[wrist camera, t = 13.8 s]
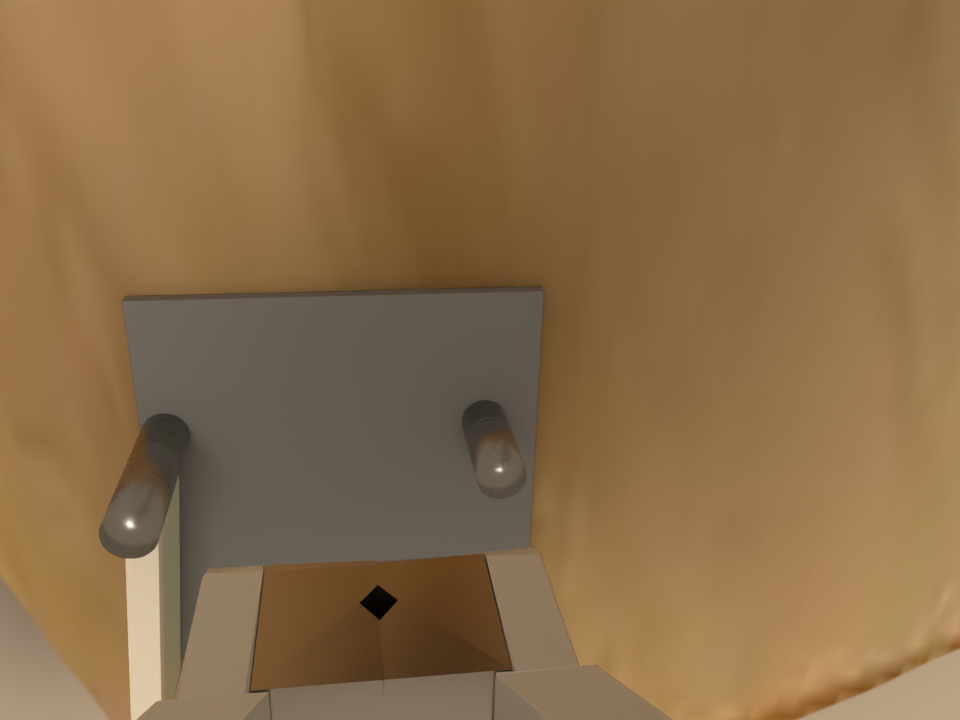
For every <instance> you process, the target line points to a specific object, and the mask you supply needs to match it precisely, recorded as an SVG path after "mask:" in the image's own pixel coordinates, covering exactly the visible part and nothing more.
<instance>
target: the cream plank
mask: <svg viewBox="0 0 960 720" xmlns="http://www.w3.org/2000/svg"><path fill="white" fill-rule="evenodd" d="M125 560H126V588H127V616H128V645H129V673H130V701H131V720H137V719H138V718H139V717H140V716H141V715H142V714H143V713H144V712H145V711H146V710H148V709H149V708H150V707H151V706H152V705H153V704H154V703H155V702H157V701H163V700H173V699H174V695H175V691H176V686H177V682H178V677H179V673H180V668H181V646H180V513H179V476H178V480H177V483H176V486H175V489H174V493H173V496H172V499H171V502H170V506H169V509H168V512H167V515H166V519H165V522H164V525H163V528H162V532H161V535H160V538H159V542H158V544H157V546H156V547H155V549H154V550H153V551H152V552H151V553H149V554H148V555H146V556H143V557H140V558H135V559H126V558H125Z"/></svg>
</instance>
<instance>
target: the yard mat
mask: <svg viewBox="0 0 960 720" xmlns="http://www.w3.org/2000/svg"><path fill="white" fill-rule="evenodd" d="M543 300H544V290H543V289H542V287H501V288H458V289H415V290H372V291H329V292H286V293H243V294H200V295H157V296H125V298H124V299H123V301H122V304H123V311H124V318H125V325H126V332H127V340H128V347H129V354H130V361H131V368H132V375H133V382H134V389H135V396H136V404H137V411H138V418H139V425H140V430H141V428H142V426H143V424H144V422H145V421H146V420H147V419H148V418H150V417H151V416H153V415H156V414H161V413H167V414H172V415H175V416H177V417H179V418H181V419H182V420H183V421H184V422H185V423H186V424H187V426H188V428H189V430H190V440H189V444H188V447H187V450H186V453H185V457H184V460H183V463H182V466H181V470H180V473H179V513H180V646H181V658H185V653H186V649H187V644H188V640H189V635H190V631H191V626H192V622H193V617H194V613H195V608H196V604H197V599H198V595H199V590H200V586H201V581H202V578H203V576H204V575H205V573H206V572H207V571H208V569H209V568H224V567H241V566H257V565H262V566H264V567H266V566H267V565H277V564H301V563H325V562H348V561H372V560H376V561H390V560H403V559H417V558H430V557H444V556H458V555H471V554H482V552H489V551H500V550H510V549H521V548H529V547H530V529H531V511H532V494H533V476H534V458H535V441H536V423H537V406H538V388H539V370H540V353H541V335H542V317H543ZM481 400H489V401H493V402H496V403H497V404H499V405H500V406H501V407H502V408H503V410H504V412H505V414H506V417H507V420H508V422H509V425H510V428H511V430H512V433H513V436H514V439H515V441H516V444H517V447H518V449H519V452H520V455H521V457H522V460H523V463H524V466H525V468H526V472H527V479H526V482H525V485H524V486H523V488H522V489H521V490H520V491H519V492H518V493H517V494H515V495H514V496H512V497H509V498H505V499H494V498H490V497H488V496H486V495H485V494H483V493H482V492H481V490H480V489H479V487H478V484H477V480H476V477H475V473H474V469H473V465H472V462H471V458H470V454H469V451H468V447H467V443H466V439H465V436H464V432H463V428H462V423H461V420H462V416H463V413H464V411H465V410H466V409H467V408H468V407H469V406H470V405H471V404H473V403H475V402H477V401H481Z"/></svg>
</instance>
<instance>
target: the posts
mask: <svg viewBox="0 0 960 720" xmlns="http://www.w3.org/2000/svg"><path fill="white" fill-rule="evenodd" d="M461 423H462V428H463V432H464V436H465V439H466V443H467V447H468V451H469V454H470V458H471V462H472V465H473V469H474V473H475V477H476V480H477V484H478V487H479V489H480V490H481V492H482V493H483V494H485V495H486V496H488V497H490V498H494V499H505V498H509V497H512V496H514V495H515V494H517V493H518V492H519V491H520V490H521V489H522V488H523V486H524V485H525V482H526V479H527V472H526V468H525V466H524V463H523V460H522V457H521V455H520V452H519V449H518V447H517V444H516V441H515V439H514V436H513V433H512V430H511V428H510V425H509V422H508V420H507V417H506V414H505V412H504V410H503V408H502V407H501V406H500V405H499V404H497V403H496V402H493V401H489V400H481V401H477V402H475V403H473V404H471V405H470V406H469V407H468V408H467V409H466V410H465V411H464V413H463V416H462V420H461ZM189 440H190V430H189V428H188V426H187V424H186V423H185V422H184V421H183V420H182V419H181V418H179V417H177V416H175V415H172V414H167V413H161V414H156V415H153V416H151V417H150V418H148V419H147V420H146V421H145V422H144V424H143V426H142V428H141V430H140V433H139V435H138V438H137V440H136V442H135V445H134V447H133V450H132V452H131V454H130V457H129V459H128V462H127V464H126V466H125V469H124V471H123V474H122V476H121V478H120V481H119V483H118V486H117V488H116V490H115V493H114V495H113V498H112V500H111V502H110V505H109V507H108V510H107V512H106V514H105V517H104V519H103V522H102V524H101V526H100V530H99V537H100V541H101V543H102V545H103V546H104V547H105V549H106V550H108V551H109V552H110V553H112V554H113V555H115V556H118V557H121V558H126V559H135V558H140V557H143V556H146V555H148V554H149V553H151V552H152V551H153V550H154V549H155V547H156V546H157V544H158V542H159V538H160V535H161V532H162V528H163V525H164V522H165V519H166V515H167V512H168V509H169V506H170V502H171V499H172V496H173V493H174V489H175V486H176V483H177V480H178V476H179V473H180V470H181V466H182V463H183V460H184V457H185V453H186V450H187V447H188V444H189Z"/></svg>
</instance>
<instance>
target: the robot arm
mask: <svg viewBox="0 0 960 720" xmlns="http://www.w3.org/2000/svg"><path fill="white" fill-rule="evenodd" d="M137 720H673V719H671V718H670V717H668V716H667V715H666V714H664V713H663V712H661V711H660V710H659V709H657V708H656V707H654V706H653V705H652V704H650V703H649V702H647V701H646V700H645V699H643V698H642V697H640V696H639V695H638V694H636V693H635V692H633V691H632V690H631V689H629V688H628V687H626V686H625V685H624V684H622V683H621V682H619V681H618V680H617V679H615V678H614V677H612V676H611V675H610V674H608V673H607V672H605V671H604V670H603V669H601V668H600V667H598V666H597V665H588V666H580V665H579V662H578V659H577V657H576V654H575V651H574V648H573V645H572V642H571V639H570V637H569V634H568V631H567V628H566V625H565V622H564V619H563V617H562V614H561V611H560V608H559V605H558V602H557V599H556V597H555V594H554V591H553V588H552V585H551V582H550V580H549V577H548V574H547V571H546V568H545V565H544V562H543V560H542V557H541V554H540V552H539V551H538V550H536V549H535V548H534V547H531V548H521V549H510V550H500V551H489V552H482V554H471V555H458V556H444V557H430V558H417V559H403V560H390V561H376V560H372V561H348V562H325V563H301V564H277V565H267V566H266V567H264V566H262V565H257V566H241V567H224V568H209V569H208V571H207V572H206V573H205V575H204V576H203V578H202V581H201V586H200V590H199V595H198V599H197V604H196V608H195V613H194V617H193V622H192V626H191V631H190V635H189V640H188V644H187V649H186V653H185V658H184V662H183V667H182V671H181V676H180V680H179V685H178V689H177V694H176V698H175V699H173V700H163V701H157V702H155V703H154V704H153V705H152V706H151V707H150V708H149V709H148V710H146V711H145V712H144V713H143V714H142V715H141V716H140V717H139V718H138V719H137Z"/></svg>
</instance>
